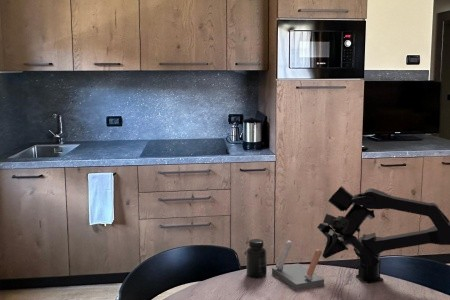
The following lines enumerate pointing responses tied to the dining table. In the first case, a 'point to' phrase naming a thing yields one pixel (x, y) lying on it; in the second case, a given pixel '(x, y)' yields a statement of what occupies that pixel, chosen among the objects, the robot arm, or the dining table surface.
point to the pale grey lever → (284, 255)
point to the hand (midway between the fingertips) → (323, 257)
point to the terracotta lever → (313, 265)
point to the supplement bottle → (256, 259)
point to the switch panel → (297, 277)
